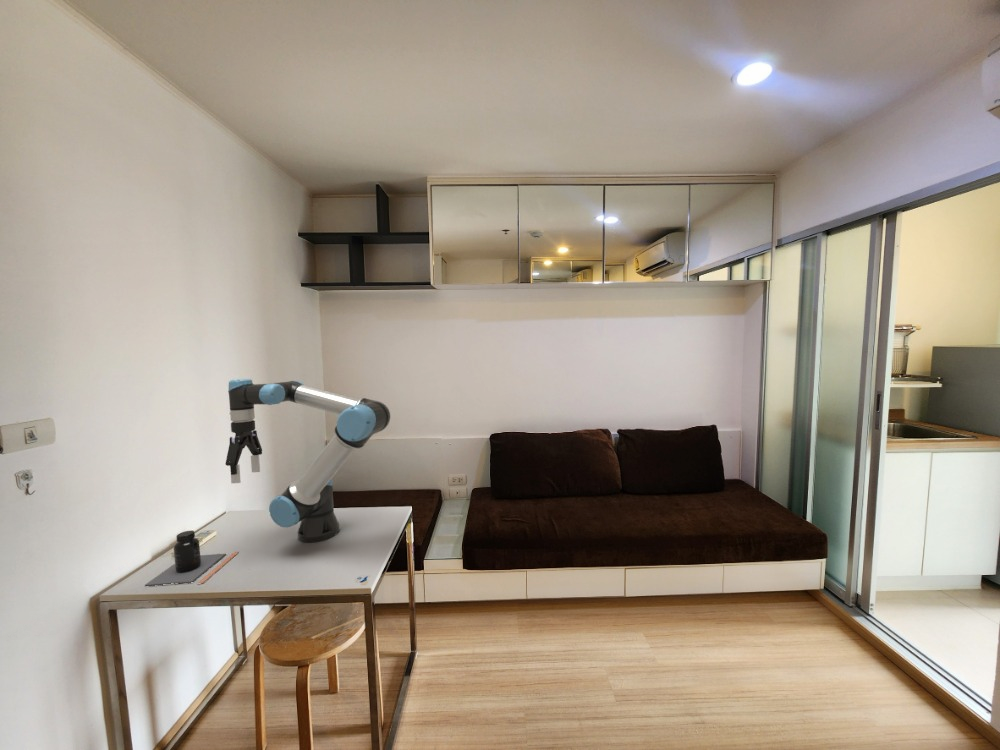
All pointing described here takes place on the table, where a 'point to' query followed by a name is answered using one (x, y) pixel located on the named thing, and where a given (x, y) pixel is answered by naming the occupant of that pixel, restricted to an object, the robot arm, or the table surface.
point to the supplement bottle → (187, 552)
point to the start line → (218, 567)
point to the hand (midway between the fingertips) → (246, 477)
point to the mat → (186, 577)
